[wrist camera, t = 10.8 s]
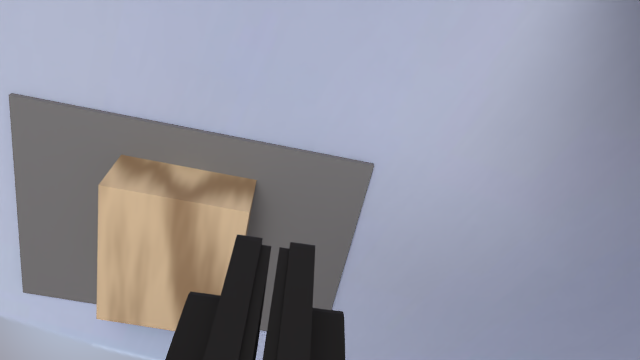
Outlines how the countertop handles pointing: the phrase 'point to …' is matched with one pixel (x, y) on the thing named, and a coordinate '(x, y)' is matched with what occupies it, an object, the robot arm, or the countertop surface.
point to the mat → (178, 149)
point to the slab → (164, 238)
